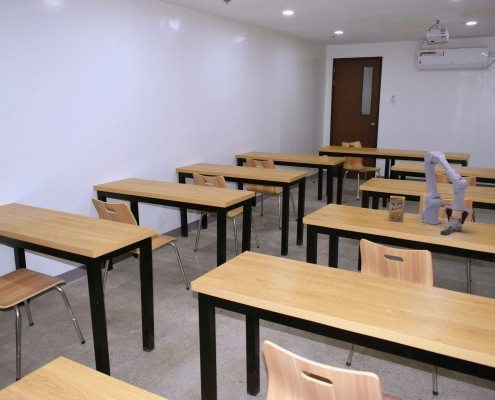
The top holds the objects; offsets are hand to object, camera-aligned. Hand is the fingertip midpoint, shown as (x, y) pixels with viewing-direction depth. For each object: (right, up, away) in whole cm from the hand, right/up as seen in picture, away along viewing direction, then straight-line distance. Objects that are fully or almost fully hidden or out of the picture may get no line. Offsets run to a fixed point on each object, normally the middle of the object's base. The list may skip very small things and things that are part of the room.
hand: (455, 222), depth 253 cm
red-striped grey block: (0, -2, 0) cm, 2 cm away
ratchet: (-5, -5, -3) cm, 7 cm away
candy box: (-28, 0, +21) cm, 35 cm away
